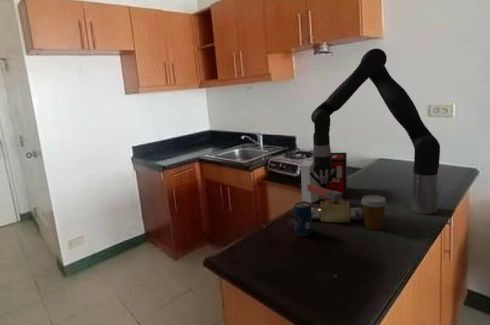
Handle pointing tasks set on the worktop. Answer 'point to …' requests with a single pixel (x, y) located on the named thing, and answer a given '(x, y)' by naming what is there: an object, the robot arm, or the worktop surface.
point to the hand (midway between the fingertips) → (323, 190)
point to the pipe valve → (336, 211)
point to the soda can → (302, 218)
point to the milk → (308, 181)
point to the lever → (324, 192)
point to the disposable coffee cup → (373, 211)
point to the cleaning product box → (339, 173)
